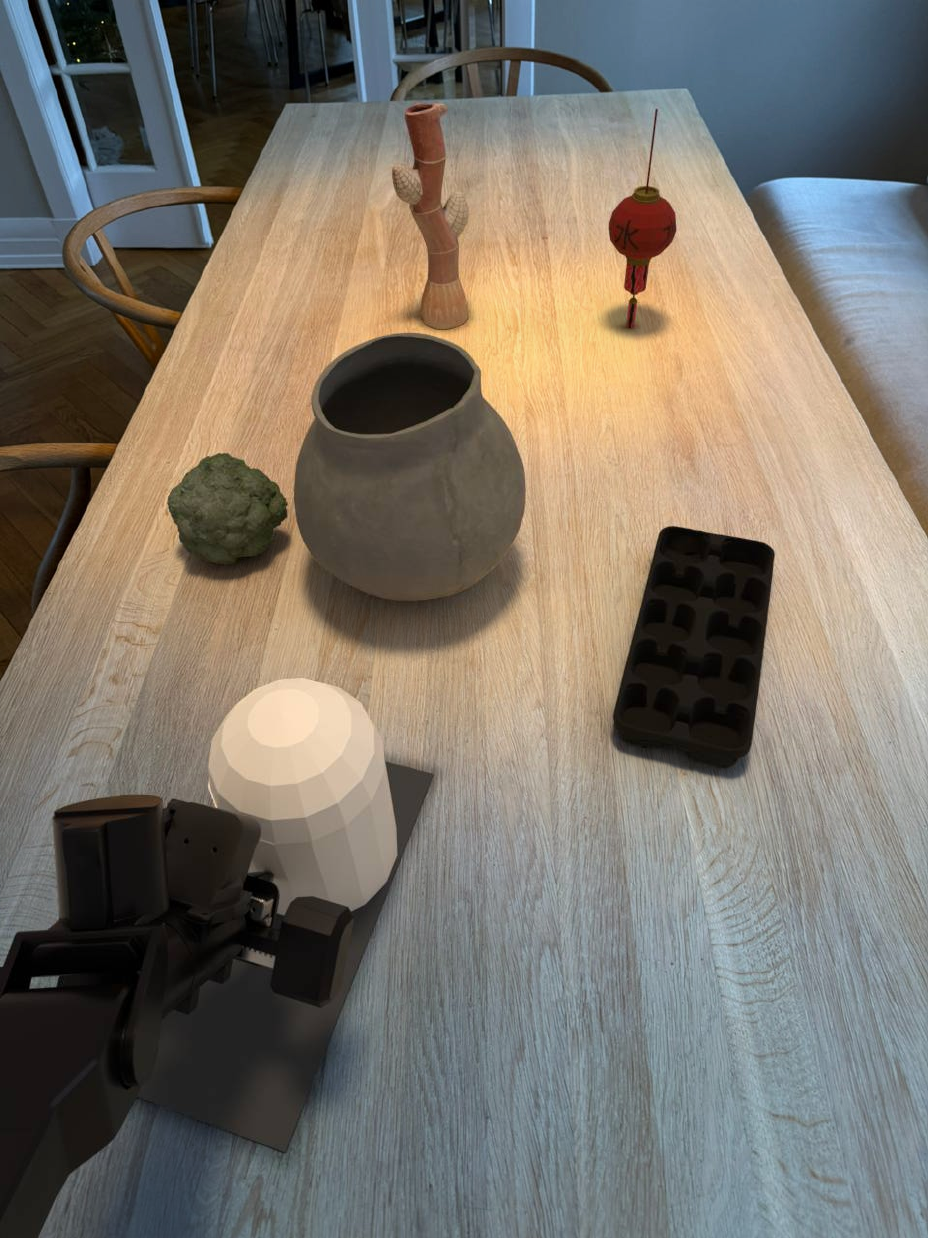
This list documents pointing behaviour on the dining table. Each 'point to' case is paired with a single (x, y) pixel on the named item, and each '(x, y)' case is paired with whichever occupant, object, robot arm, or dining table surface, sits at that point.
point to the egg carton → (698, 647)
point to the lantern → (641, 234)
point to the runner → (265, 1025)
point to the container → (308, 790)
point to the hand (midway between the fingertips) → (269, 878)
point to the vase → (434, 216)
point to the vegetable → (226, 509)
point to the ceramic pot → (407, 471)
